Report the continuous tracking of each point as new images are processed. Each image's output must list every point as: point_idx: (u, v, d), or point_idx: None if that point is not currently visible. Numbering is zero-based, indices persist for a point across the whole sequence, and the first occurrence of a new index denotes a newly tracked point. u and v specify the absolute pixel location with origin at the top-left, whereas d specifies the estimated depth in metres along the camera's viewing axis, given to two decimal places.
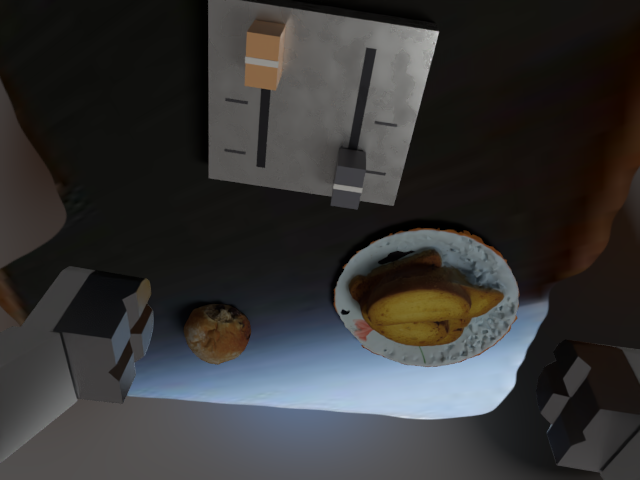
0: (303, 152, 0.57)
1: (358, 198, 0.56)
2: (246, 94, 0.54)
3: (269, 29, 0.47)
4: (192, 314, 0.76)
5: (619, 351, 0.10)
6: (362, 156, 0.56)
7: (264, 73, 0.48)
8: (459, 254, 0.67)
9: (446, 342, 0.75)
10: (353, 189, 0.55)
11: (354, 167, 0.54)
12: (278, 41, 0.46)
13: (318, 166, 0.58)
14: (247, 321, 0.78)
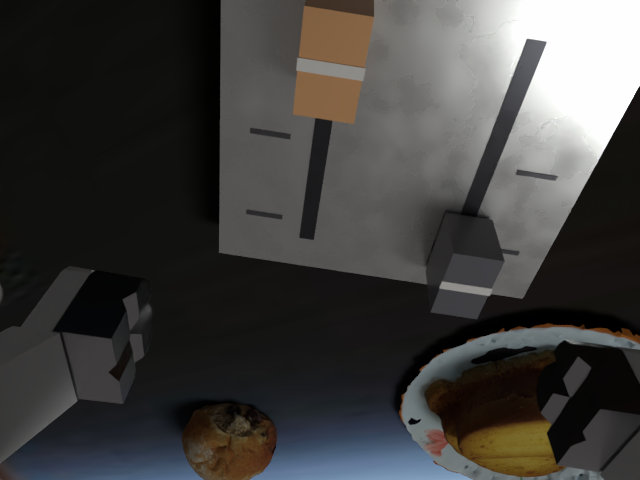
0: (381, 218, 0.34)
1: (481, 303, 0.32)
2: (289, 122, 0.30)
3: (348, 1, 0.23)
4: (194, 419, 0.53)
5: (619, 351, 0.10)
6: (489, 230, 0.32)
7: (334, 91, 0.24)
8: None
9: None
10: (475, 291, 0.31)
11: (483, 255, 0.30)
12: (369, 26, 0.22)
13: (405, 238, 0.34)
14: (272, 427, 0.54)
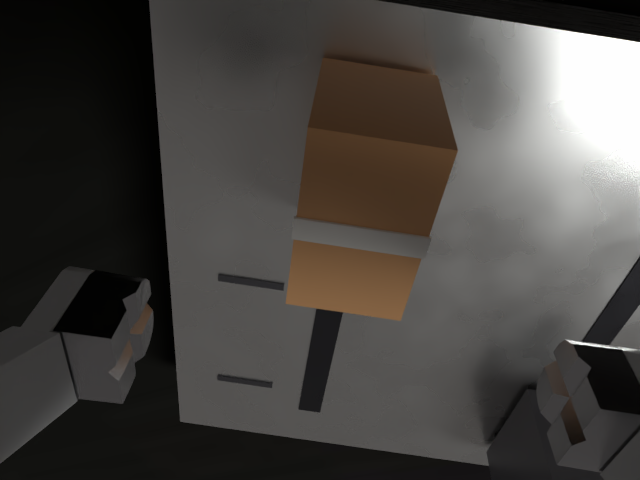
0: (424, 390, 0.22)
1: None
2: (281, 267, 0.18)
3: (395, 105, 0.11)
4: None
5: (619, 351, 0.10)
6: None
7: (367, 273, 0.12)
8: None
9: None
10: None
11: None
12: (446, 167, 0.10)
13: (459, 415, 0.23)
14: None
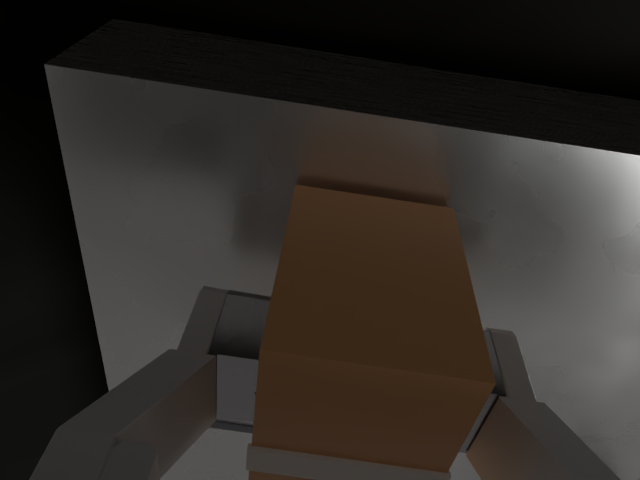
0: None
1: None
2: None
3: (396, 279, 0.08)
4: None
5: (487, 331, 0.09)
6: None
7: None
8: None
9: None
10: None
11: None
12: (476, 401, 0.07)
13: None
14: None
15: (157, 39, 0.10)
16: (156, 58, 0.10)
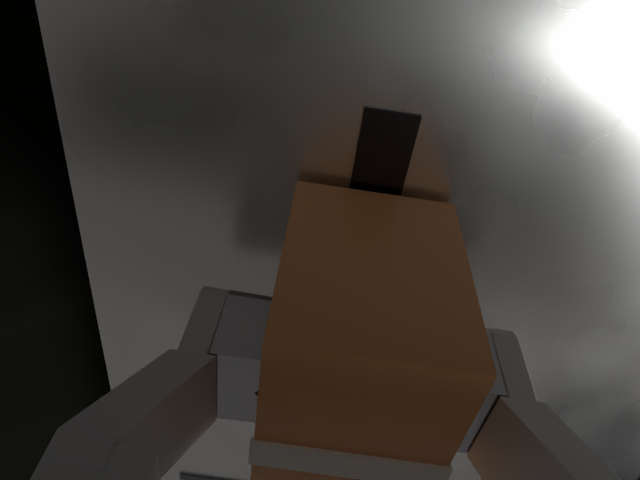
0: None
1: None
2: None
3: (397, 274, 0.08)
4: None
5: (487, 331, 0.09)
6: None
7: None
8: None
9: None
10: None
11: None
12: (477, 394, 0.07)
13: None
14: None
15: None
16: None
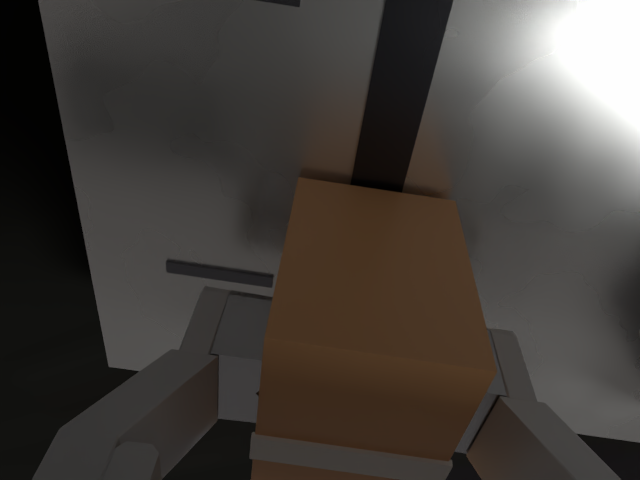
0: (574, 286, 0.11)
1: None
2: None
3: (399, 269, 0.08)
4: None
5: (487, 331, 0.09)
6: None
7: None
8: None
9: None
10: None
11: None
12: (477, 389, 0.07)
13: (630, 341, 0.12)
14: None
15: None
16: None
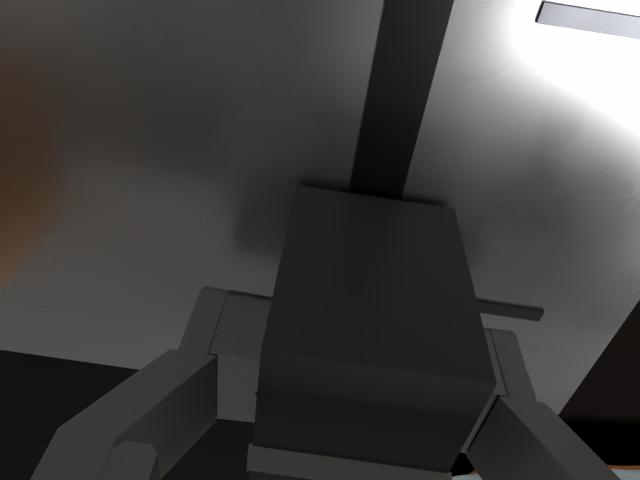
0: (104, 209, 0.11)
1: None
2: None
3: None
4: None
5: (487, 331, 0.09)
6: (441, 243, 0.09)
7: None
8: None
9: None
10: None
11: (399, 358, 0.07)
12: None
13: (198, 272, 0.11)
14: None
15: None
16: None
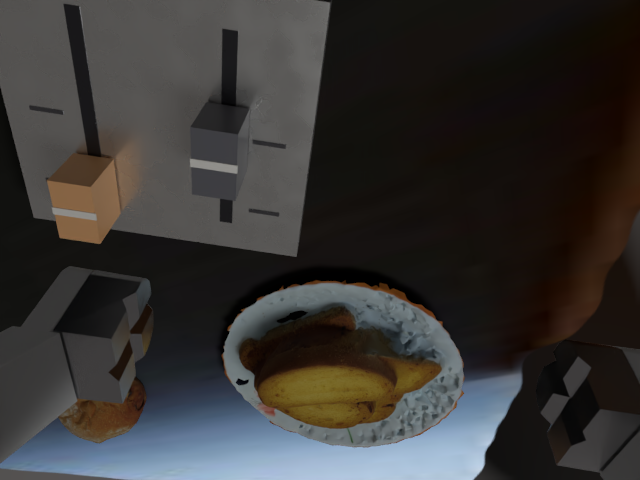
0: (157, 184, 0.40)
1: (233, 183, 0.34)
2: (59, 100, 0.36)
3: (84, 171, 0.37)
4: None
5: (620, 351, 0.10)
6: (240, 114, 0.34)
7: (81, 225, 0.37)
8: (380, 312, 0.49)
9: (375, 420, 0.57)
10: (223, 168, 0.34)
11: (219, 130, 0.32)
12: (90, 191, 0.36)
13: (183, 202, 0.41)
14: (138, 386, 0.59)
15: None
16: None
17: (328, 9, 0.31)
